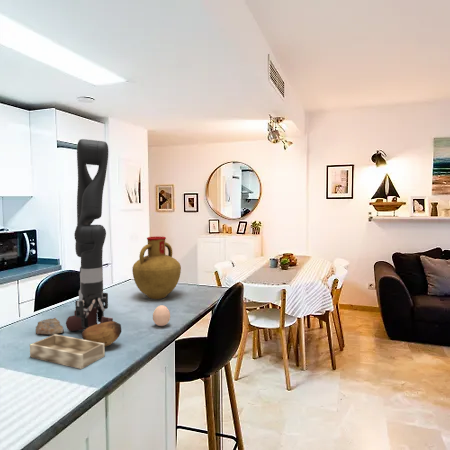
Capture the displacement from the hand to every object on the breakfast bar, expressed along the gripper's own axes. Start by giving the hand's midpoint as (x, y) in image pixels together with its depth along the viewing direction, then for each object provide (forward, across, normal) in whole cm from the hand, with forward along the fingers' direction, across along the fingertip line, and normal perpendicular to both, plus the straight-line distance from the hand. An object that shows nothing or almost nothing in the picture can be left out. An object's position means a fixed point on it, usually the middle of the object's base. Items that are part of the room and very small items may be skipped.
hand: (92, 324), depth 135 cm
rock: (+3, +5, -15) cm, 16 cm away
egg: (+3, -16, +19) cm, 25 cm away
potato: (+3, +9, +12) cm, 15 cm away
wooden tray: (+3, +19, +8) cm, 21 cm away
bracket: (+3, 0, -1) cm, 3 cm away
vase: (+3, -52, -7) cm, 53 cm away
